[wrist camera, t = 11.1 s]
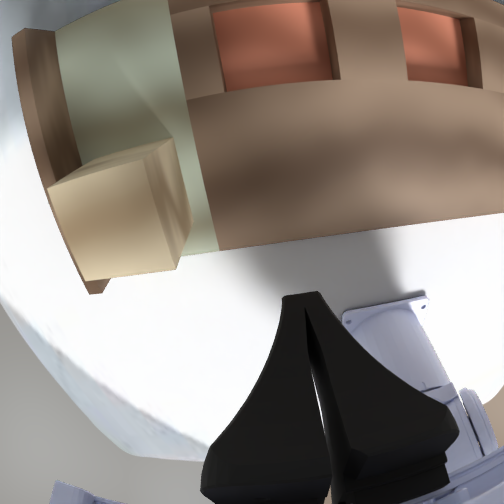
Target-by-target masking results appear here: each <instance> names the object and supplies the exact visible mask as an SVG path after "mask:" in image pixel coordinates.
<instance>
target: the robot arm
mask: <svg viewBox="0 0 504 504" xmlns="http://www.w3.org/2000/svg"><path fill="white" fill-rule="evenodd" d="M428 303H429V299H428V297H427V296H420V297H416V298H411V299H406V300H402V301H397V302H392V303H387V304H382V305H376V306H371V307H366V308H360V309H355V310H349V311H346V312H344V314H343V316H342V323H341V322H340V321H339V320H338V318H337V317H336V316H335V314H334V313H333V312H332V310H331V309H330V308H329V306H328V305H327V303H326V302H325V300H324V299H323V297H322V295H321V294H320V293H319V292H318V291H314V292H308V293H301V294H294V295H286V296H284V297H283V298H282V309H281V316H280V321H279V325H278V329H277V332H276V336H275V339H274V342H273V345H272V348H271V351H270V353H269V356H268V359H267V361H266V363H265V366H264V368H263V370H262V372H261V374H260V376H259V378H258V380H257V382H256V384H255V386H254V387H253V389H252V391H251V393H250V394H249V396H248V398H247V399H246V401H245V403H244V404H243V405H242V407H241V408H240V410H239V411H238V413H237V414H236V415H235V417H234V418H233V420H232V421H231V422H230V424H229V425H228V426H227V427H226V429H225V430H224V431H223V432H222V433H221V434H220V436H219V437H218V438H217V439H216V440H215V441H214V443H213V444H212V445H211V446H210V448H209V450H208V453H207V456H206V459H205V462H204V465H203V470H202V476H201V488H200V491H201V493H202V494H203V495H204V496H205V497H207V498H208V499H210V500H211V501H212V502H214V503H215V504H324V500H325V497H327V495H328V491H329V488H330V485H331V497H332V504H504V446H502V447H501V448H499V449H498V444H497V440H496V437H495V434H494V431H493V429H492V426H491V424H490V421H489V419H488V416H487V414H486V412H485V409H484V407H483V405H482V403H481V401H480V399H479V397H478V396H477V394H476V392H475V391H474V390H470V389H467V388H463V389H461V390H460V391H459V393H460V396H461V398H462V400H463V405H464V407H465V410H466V412H467V414H468V416H467V415H466V412H465V410H464V408H463V405H462V403H461V401H460V399H459V397H458V394H457V392H456V390H455V388H454V386H453V384H452V382H450V380H449V378H448V376H447V374H446V372H445V370H444V368H443V366H442V364H441V362H440V360H439V358H438V356H437V354H436V352H435V350H434V348H433V346H432V344H431V342H430V340H429V338H428V336H427V335H426V333H425V331H424V329H423V327H422V326H423V322H424V319H425V315H426V311H427V307H428ZM348 320H350V321H348ZM311 371H312V372H311ZM312 375H313V377H312ZM313 379H314V382H315V386H316V390H317V394H318V398H319V401H320V406H321V411H322V417H323V424H324V429H323V424H322V420H321V415H320V410H319V406H318V401H317V396H316V391H315V387H314V382H313ZM324 431H325V433H324ZM478 442H479V445H480V447H479V445H478ZM49 504H126V503H121V502H117V501H113V500H109V499H105V498H101V497H97V496H94V495H93V494H92V493H90V492H88V491H86V490H84V489H82V488H79V487H76V486H73V485H70V484H67V483H64V482H61V481H58V480H56V481H55V484H54V487H53V491H52V495H51V500H50V503H49Z"/></svg>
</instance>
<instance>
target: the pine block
mask: <svg viewBox="0 0 504 504" xmlns="http://www.w3.org/2000/svg"><path fill="white" fill-rule="evenodd" d="M47 190H48V193H49V196H50V199H51V202H52V204H53V207H54V210H55V213H56V215H57V218H58V220H59V223H60V225H61V228H62V230H63V233H64V235H65V238H66V240H67V242H68V245H69V247H70V249H71V252H72V254H73V256H74V258H75V260H76V263H77V265H78V267H79V269H80V271H81V273H82V275H83V277H84V279H85V281H92V280H100V279H108V278H115V277H123V276H131V275H139V274H146V273H154V272H162V271H169V270H176V268H177V265H178V262H179V260H180V257H181V254H182V251H183V249H184V246H185V243H186V240H187V238H188V235H189V232H190V230H191V227H192V225H193V222H194V220H193V216H192V212H191V208H190V204H189V200H188V196H187V192H186V188H185V184H184V180H183V176H182V172H181V168H180V164H179V159H178V155H177V151H176V146H175V142H174V138H173V137H172V138H167V139H163V140H159V141H155V142H151V143H147V144H144V145H140V146H136V147H133V148H129V149H125V150H122V151H119V152H115V153H112V154H109V155H105V156H102V157H99V158H96V159H93V160H92V161H90V162H88V163H87V164H85V165H83V166H82V167H80V168H78V169H77V170H75V171H73V172H72V173H70V174H69V175H67V176H65V177H64V178H62V179H61V180H59V181H58V182H56V183H54V184H53V185H51V186H50V187H48V188H47Z"/></svg>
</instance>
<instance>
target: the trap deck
mask: <svg viewBox="0 0 504 504" xmlns="http://www.w3.org/2000/svg"><path fill="white" fill-rule="evenodd" d="M12 47H13V57H14V65H15V72H16V79H17V85H18V91H19V96H20V102H21V107H22V111H23V116H24V121H25V125H26V129H27V133H28V137H29V141H30V145H31V148H32V152H33V155H34V159H35V162H36V166H37V169H38V172H39V175H40V178H41V181H42V184H43V187H44V190H45V193H46V196H47V199H48V202H49V204H50V207H51V210H52V212H53V215H54V218H55V220H56V223H57V225H58V228H59V230H60V233H61V235H62V237H63V240H64V242H65V244H66V247H67V249H68V251H69V253H70V256H71V258H72V260H73V262H74V264H75V267H76V269H77V271H78V273H79V275H80V277H81V279H82V281H83V283H84V285H85V287H86V289H87V291H88V293H89V294H99V293H103V291H104V289H105V287H106V286H107V284H108V282H109V281H110V279H111V278H108V279H100V280H92V281H85V279H84V277H83V275H82V273H81V271H80V269H79V267H78V265H77V263H76V260H75V258H74V256H73V254H72V252H71V249H70V247H69V245H68V242H67V240H66V238H65V235H64V233H63V230H62V228H61V225H60V223H59V220H58V218H57V215H56V213H55V210H54V207H53V204H52V202H51V199H50V196H49V193H48V190H47V188H48V187H50V186H51V185H53V184H54V183H56V182H58V181H59V180H61V179H62V178H64V177H65V176H67V175H69V174H70V173H72V172H73V171H75V170H77V169H78V168H80V167H82V166H83V165H85V164H87V163H88V162H90V161H92V160H93V159H96V158H99V157H102V156H105V155H109V154H112V153H115V152H119V151H122V150H125V149H129V148H133V147H136V146H140V145H144V144H147V143H151V142H155V141H159V140H163V139H167V138H172V137H173V138H174V142H175V146H176V151H177V155H178V159H179V164H180V168H181V172H182V176H183V180H184V184H185V188H186V192H187V196H188V200H189V204H190V208H191V212H192V216H193V220H194V222H193V225H192V227H191V230H190V232H189V235H188V238H187V240H186V243H185V246H184V249H183V251H182V254H181V256H188V255H195V254H202V253H209V252H216V251H223V250H230V249H237V248H245V247H252V246H259V245H266V244H273V243H280V242H287V241H295V240H302V239H309V238H316V237H324V236H331V235H338V234H346V233H353V232H360V231H368V230H375V229H383V228H390V227H398V226H405V225H413V224H420V223H428V222H435V221H443V220H451V219H458V218H466V217H474V216H481V215H489V214H497V213H504V5H502V4H500V3H498V2H495V1H493V0H120V1H118V2H115V3H113V4H110V5H108V6H106V7H103V8H101V9H99V10H97V11H94V12H92V13H90V14H88V15H86V16H84V17H82V18H80V19H78V20H76V21H74V22H72V23H70V24H68V25H66V26H64V27H62V28H60V29H58V30H57V31H55V32H54V31H46V30H38V29H28V28H24V29H22V30H21V31H20V32H18V33H17V34H15V35H14V36H13V37H12Z"/></svg>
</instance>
